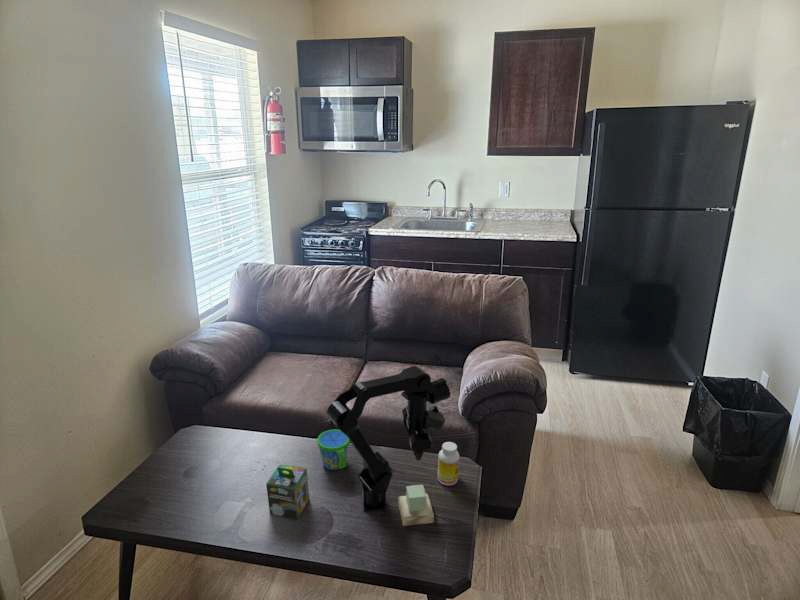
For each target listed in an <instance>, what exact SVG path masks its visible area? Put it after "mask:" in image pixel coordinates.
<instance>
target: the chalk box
mask: <svg viewBox="0 0 800 600" xmlns="http://www.w3.org/2000/svg"><path fill="white" fill-rule="evenodd" d="M265 484H266V492H267V493H266V494H267V501H268V502H267V503H268V508H269V509H268V510H269V515H272V516H277V517H283V518H286V519H293V520H298V519H299V517H300V515H301V514H302V512H303V511H304V509H305V507H306V506H307V504H308V502H309V500H310V492H309V490H310V489H309V481H308V471H307V467H301V466H295V465H293V466H292V465H287V464H279V465H278V467H277V468H276V469H275V470H274V471H273V473H272V474H271V477H270V478H269V479H268V480H267V482H266V483H265Z"/></svg>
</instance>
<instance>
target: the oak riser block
mask: <svg viewBox="0 0 800 600" xmlns="http://www.w3.org/2000/svg"><path fill="white" fill-rule="evenodd" d="M397 499H398V500H397V501H398V507H399V513H400V518H401V523H402V526H403V527H405V526H414V525H415V526H416V525H417V526H418V525H426V524H434V523H435V515H434V510H433V508H432V507H433V506H432V504H431V500H430V497H429V494H428V493H426V510H423V511H413V512H409V510H408V506H407V502H406V495H400V496H398V498H397Z"/></svg>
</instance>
